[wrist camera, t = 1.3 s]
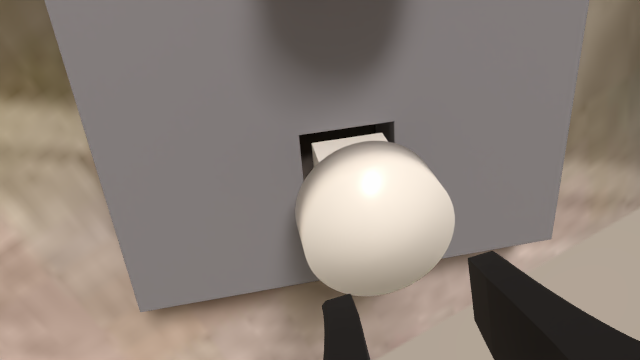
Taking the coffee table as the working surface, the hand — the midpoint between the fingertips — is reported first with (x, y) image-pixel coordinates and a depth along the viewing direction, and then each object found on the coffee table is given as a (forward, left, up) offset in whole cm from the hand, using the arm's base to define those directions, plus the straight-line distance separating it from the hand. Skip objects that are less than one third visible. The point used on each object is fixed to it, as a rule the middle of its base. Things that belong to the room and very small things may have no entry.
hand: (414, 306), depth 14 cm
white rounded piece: (0, 0, -7) cm, 7 cm away
